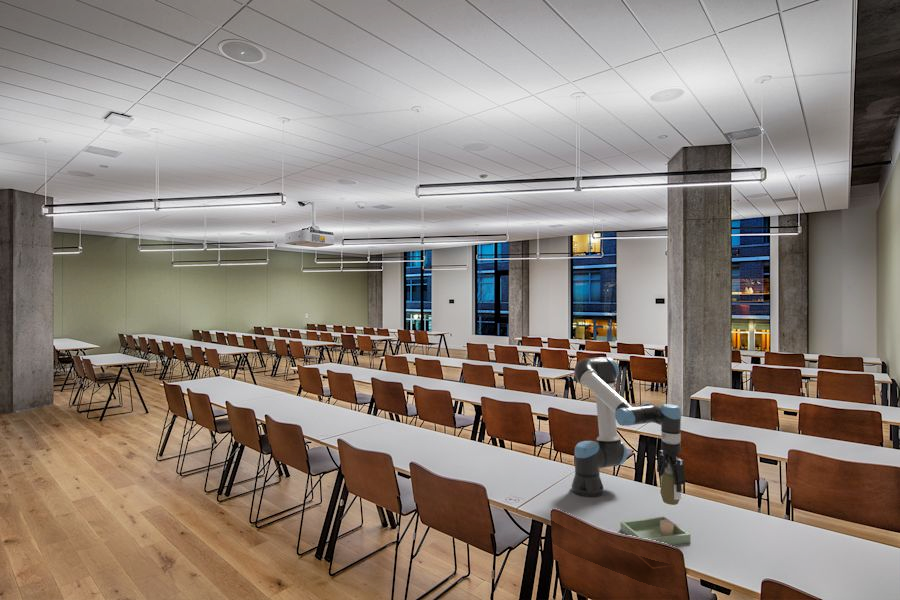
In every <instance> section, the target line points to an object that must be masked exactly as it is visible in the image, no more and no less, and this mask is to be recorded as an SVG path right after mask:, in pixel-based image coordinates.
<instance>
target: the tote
mask: <svg viewBox="0 0 900 600" xmlns="http://www.w3.org/2000/svg"><path fill="white" fill-rule="evenodd" d="M661 520H669V521H671V520H670V519H668V518H667V517H666V516H658V517H650V518H649V517H648V518H642V519H633V520H626V521H620V522H619V523H620V524H619V525H620V531H622V532H623V533H624V534H626V535H627V534H628V535H632V536H636V537H640V538H648V539H651V540H656V541H659V542H664V543H667V544H671V545H670V546H674V545H681V544H687V543H691V533H689V532H687V531H686V530H685V529H683V528H682V527H680V526H678V525H677V524H675V523H674V535H671V536H663V535H661V534H660V521H661ZM628 535H627V536H628Z"/></svg>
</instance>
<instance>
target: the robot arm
mask: <svg viewBox="0 0 900 600" xmlns="http://www.w3.org/2000/svg"><path fill="white" fill-rule="evenodd" d="M619 373H620V370H619V365H618V364H617V362H616V361H615V360H614V359H613V358H611V357H609V356H600V357H586V358H582V359H580V360H579V361H578V362H577V363H576V364H575V366H574V376H575V379H576V380H577V382H578V383H579V384H580V385H581V386H582V387H584V388H587V389H588V390H589V391H590V392H591V393H593V394H594V395H595V404H596V412H597V413H596V414H597V423H598V424H597V425H598V437H596V441H595V440H583V441H579V442H578V443H576V445H575V447H574V453H573V454H574V476H573V480H572V482H571V491H572V493H574V494H575V493H576V495H578V496H581V497H588V498H590V497H591V498H592V497H593V498H594V497H599V496H602V495H603V494H604V485H603V482H602V479H601V476H600V469H604V468H609V467H618V466H621V465H623V464H624V463H625V462H626V460H627V458H628V449H627V446H626V444H625V442H623V441H622V439H621V437H620V436H618V435H619V434H618V430H617V424H618V425H619V426H622V427H629V426H635V425H642V424H650V423H653V424H657V425H660V426H661V427H660V428H661V429H660V430H661V431H660V432H661V434H660V435H661V436H660V438H661V442H660V450H658V451H657V453H658V456H657V457H658V459H657V464H656V465H657V466H656V472H657V473H658V474H659V475H660V476H659V478H660V479H659V482H660V483H661V482H662V474H663V473H664V472H665V468H666V467H668V463H669V464H670V467H671V468H672V471H673V475H674V479H675V483H674V499H675V500H677V499H680V500H682V497H681V496H682V485H686V478H685V468H684V464H685V460H684V459H681V458H680V457H679V453H680V452H681V450H682V449H681V447H682V446H681V439H682V435H681V434H682V433H681V426H682V425H681V423H682V422H681V420H682V415H681V407H680V406H679V405H676V404H672V403H664V404H661V406H659V405H655V404H653V403H650V402H649V403H648V402H643V403H642V404H641V405H639V406H633V405H631V404H630V403H629V402H628V401H627V400H626V399H625V398H623V397H622V396H621V395H620V394H619V393H618V392H617V391H615V389H613V387H614V386H615V384H616V379H618V377H619Z"/></svg>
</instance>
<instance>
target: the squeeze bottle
mask: <svg viewBox="0 0 900 600" xmlns="http://www.w3.org/2000/svg"><path fill="white" fill-rule="evenodd" d="M674 483H675V479H674V475H673V471H672V468H671V467H670V464H669V463H668V467H666V468H665V472H664V473H663V474H662V482H661V481H660V492H659V493H660V496H661V498H662V502H663V503H665V504H667V505H669V506H670V505H671V506H675V505H678V504H679V502H680V500H681V499H677V500H675V499H674Z"/></svg>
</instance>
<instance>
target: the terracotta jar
mask: <svg viewBox="0 0 900 600" xmlns="http://www.w3.org/2000/svg"><path fill="white" fill-rule="evenodd" d="M669 520H670V519H668V520H661V521H660V534H661V535H663V536H671V535H674V524H675V523H674V522H673V521H671V520H670V521H669Z"/></svg>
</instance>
